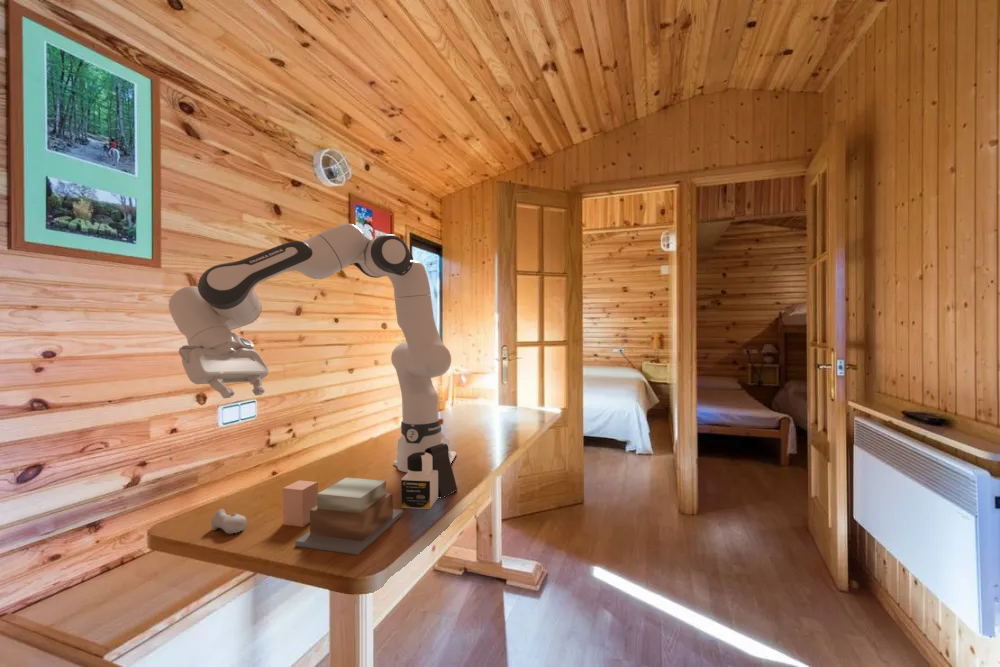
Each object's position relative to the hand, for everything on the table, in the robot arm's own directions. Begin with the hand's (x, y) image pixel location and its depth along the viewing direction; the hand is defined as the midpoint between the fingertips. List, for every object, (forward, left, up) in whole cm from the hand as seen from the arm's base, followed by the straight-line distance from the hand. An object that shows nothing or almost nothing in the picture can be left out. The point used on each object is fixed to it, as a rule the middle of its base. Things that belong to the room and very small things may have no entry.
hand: (245, 395), depth 97 cm
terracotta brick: (-1, +14, -28) cm, 31 cm away
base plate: (0, +28, -28) cm, 39 cm away
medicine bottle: (-16, +36, -28) cm, 48 cm away
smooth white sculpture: (+6, +2, -28) cm, 29 cm away
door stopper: (-24, +37, -28) cm, 52 cm away
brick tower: (0, +28, -28) cm, 39 cm away
